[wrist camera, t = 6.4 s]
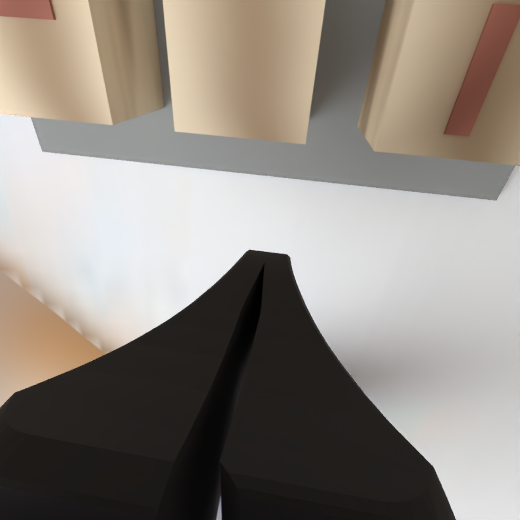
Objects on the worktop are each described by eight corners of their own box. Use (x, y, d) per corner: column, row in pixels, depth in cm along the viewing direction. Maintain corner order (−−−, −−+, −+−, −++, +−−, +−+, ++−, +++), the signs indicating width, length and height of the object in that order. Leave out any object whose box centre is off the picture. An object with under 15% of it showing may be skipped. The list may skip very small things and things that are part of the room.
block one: (357, 126, 15) (375, 152, 11) (388, -12, 12) (428, -49, 8) (462, 135, 15) (522, 166, 10) (519, -5, 12) (635, -39, 8)
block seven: (75, 99, 16) (-7, 114, 12) (42, -31, 13) (-81, -72, 9) (164, 107, 16) (111, 125, 12) (150, -25, 13) (73, -65, 9)
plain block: (210, 112, 16) (174, 131, 12) (207, -17, 13) (157, -53, 9) (307, 121, 15) (305, 144, 11) (325, -11, 12) (331, -45, 8)
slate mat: (48, 149, 19) (42, 151, 18) (-40, -126, 12) (-52, -132, 12) (491, 196, 16) (496, 200, 16) (649, -107, 10) (663, -114, 10)
